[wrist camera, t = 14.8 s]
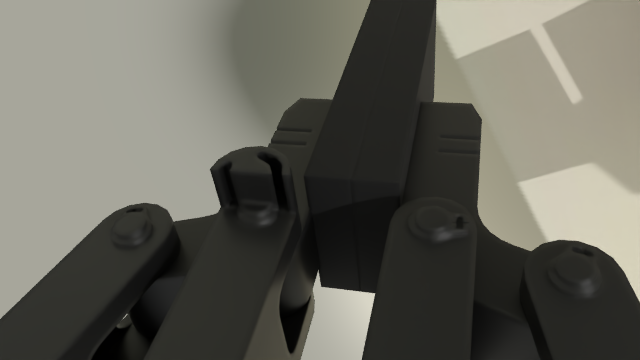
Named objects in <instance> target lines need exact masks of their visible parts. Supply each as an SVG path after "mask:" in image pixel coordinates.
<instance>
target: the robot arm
mask: <svg viewBox="0 0 640 360" xmlns="http://www.w3.org/2000/svg"><path fill="white" fill-rule="evenodd" d="M435 35H436V0H371V1H370V4H369V7H368V9H367V12H366V14H365V17H364V20H363V22H362V25H361V27H360V30H359V33H358V35H357V38H356V41H355V43H354V46H353V48H352V51H351V53H350V56H349V59H348V61H347V64H346V66H345V69H344V72H343V75H342V77H341V80H340V82H339V85H338V88H337V90H336V93H335V95H334V98H333V100H329V99H306V98H305V99H304V98H300V99H299V100H298V101H297V102H296V103H294V104H293V105H292V106H291V107H290V108H288V109H287V110H286V111H285V112H284V114H283V116H282V118H281V120H280V122H279V125H278V127H277V131H275V133H274V135H273V137H272V139H271V144H269V145H268V147H263V146H258V147H245V148H242V149H239V150H235V151H232V152H230V153H228V154H227V155H225V156H223V157H222V158H220V159H218V161H217V162H216V163H215V164H214V165H213V166H212V168H211V169H210V171H211V174H212V177H213V181H214V184H215V188H216V191H217V194H218V198H219V201H220V205H221V208H220V210H219V212H218V213H217V214H214V215H210V216H205V217H200V218H194V219H188V220H181V221H175V222H173V220H172V218H171V216H170V214H169V213H168V211H167V210H166V209H164V208H162V207H160V206H159V205H157V204H149V203H141V204H135V205H129V206H127V207H125V208H122V209H120V210H118V211H115V212H114V213H112V214H111V215H110V216H108V217H107V218H105V219H104V220H103V221H102V222H101V223H100V224H99V225H98V226H97V227H96V228H94V230H92V231H91V232H90V233H89V234H88V235H87V236H86V237H85V238H84V239H83V240H82V241H81V242H80V243H79V244H78V245H77V246H76V247H75V248H74V249H73V250H72V251H71V252H70V253H68V255H66V256H65V257H64V258H63V259H62V260H61V261H60V262H59V263H58V264H57V265H56V266H55V267H54V268H53V269H52V270H51V271H50V272H49V273H48V274H47V275H46V276H45V277H44V278H43V279H41V280H40V281H39V282H38V283H37V284H36V285H35V286H34V287H33V288H32V289H31V290H30V291H29V292H28V293H27V294H26V295H25V296H24V297H23V298H22V299H21V300H20V301H19V302H18V303H17V304H16V305H15V306H14V307H12V308H11V309H10V310H9V311H8V312H7V313H6V314H5V315H4V316H3V317H2V318H1V319H0V360H300V359H301V356H302V352H303V349H304V345H305V342H306V338H307V335H308V331H309V327H310V324H311V321H312V317H313V314H314V302H315V300H314V295H313V286H314V282H315V279H316V276H317V272H318V269H319V276H320V282H321V287H329V288H337V289H345V290H353V291H362V292H369V293H375V298H374V303H373V308H372V313H371V317H370V322H369V327H368V332H367V337H366V341H365V346H364V351H363V356H362V360H640V302H639V300H638V298H637V296H636V294H635V292H634V290H633V289H632V287H631V285H630V283H629V281H628V279H627V277H626V275H625V273H624V271H623V270H622V269H621V268H620V266H619V265H618V264H617V262H616V261H615V260H614V259H613V258H612V257H611V256H609V255H608V254H606V253H605V252H603V251H602V250H600V249H599V248H597V247H594V246H591V245H588V244H585V243H582V242H579V241H568V240H557V241H552V242H548V243H544V244H541V245H540V246H539V247H537V248H536V249H534V250H533V251H528V250H525V249H523V248H520V247H517V246H514V245H512V244H509V243H507V242H505V241H503V240H501V239H499V238H498V237H496V236H495V235H494V234H492V233H491V232H489V230H488V229H487V228H486V227H485V226H484V225H483V223H482V221H481V219H480V217H479V215H478V208H477V201H478V182H479V163H480V162H479V161H480V143H481V124H482V119H481V118H480V116H479V114H478V113H477V111H476V110H475V108H474V107H473V105H472V104H465V103H441V102H433V98H434V73H435V71H434V70H435ZM126 314H128V315H127V316H126V317H125V318H124V319H123V317H124V316H125V315H126ZM122 319H123V320H122Z"/></svg>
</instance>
